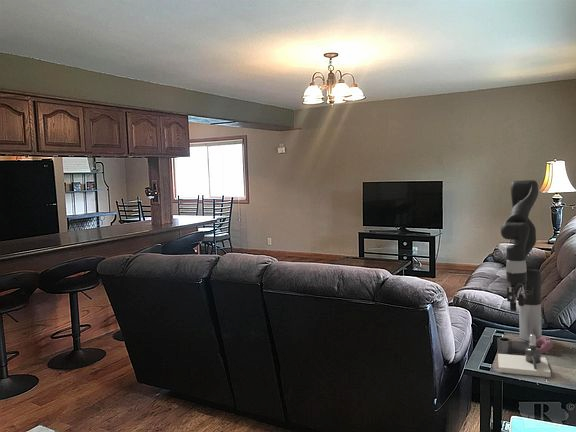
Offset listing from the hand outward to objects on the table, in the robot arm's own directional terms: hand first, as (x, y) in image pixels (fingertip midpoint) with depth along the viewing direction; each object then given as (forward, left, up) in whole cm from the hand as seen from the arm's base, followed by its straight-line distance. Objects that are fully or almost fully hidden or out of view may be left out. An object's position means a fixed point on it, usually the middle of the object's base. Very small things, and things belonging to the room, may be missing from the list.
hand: (517, 308), depth 192 cm
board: (+7, +1, -22) cm, 23 cm away
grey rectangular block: (-8, -2, -22) cm, 24 cm away
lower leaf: (+7, +5, -20) cm, 22 cm away
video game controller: (-15, +11, -23) cm, 30 cm away
